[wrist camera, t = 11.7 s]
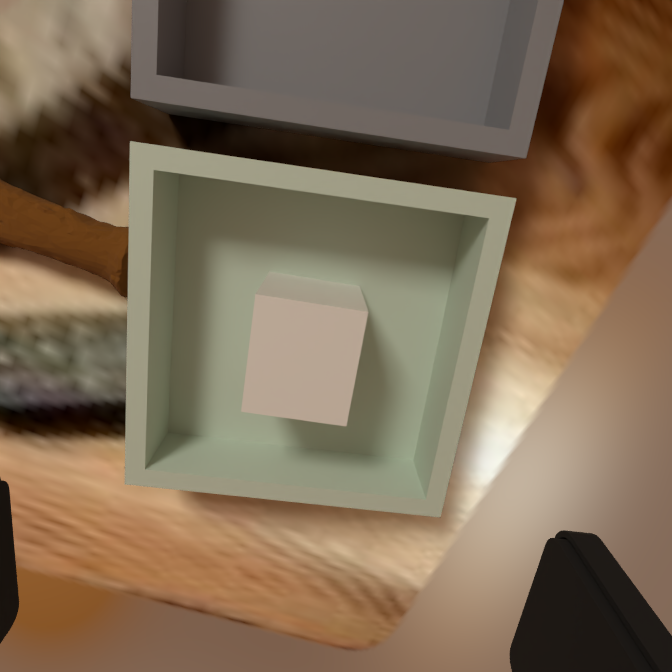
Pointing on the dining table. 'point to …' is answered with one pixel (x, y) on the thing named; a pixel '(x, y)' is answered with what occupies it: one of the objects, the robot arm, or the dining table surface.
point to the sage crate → (312, 262)
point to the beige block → (304, 349)
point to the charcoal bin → (353, 68)
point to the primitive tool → (64, 235)
